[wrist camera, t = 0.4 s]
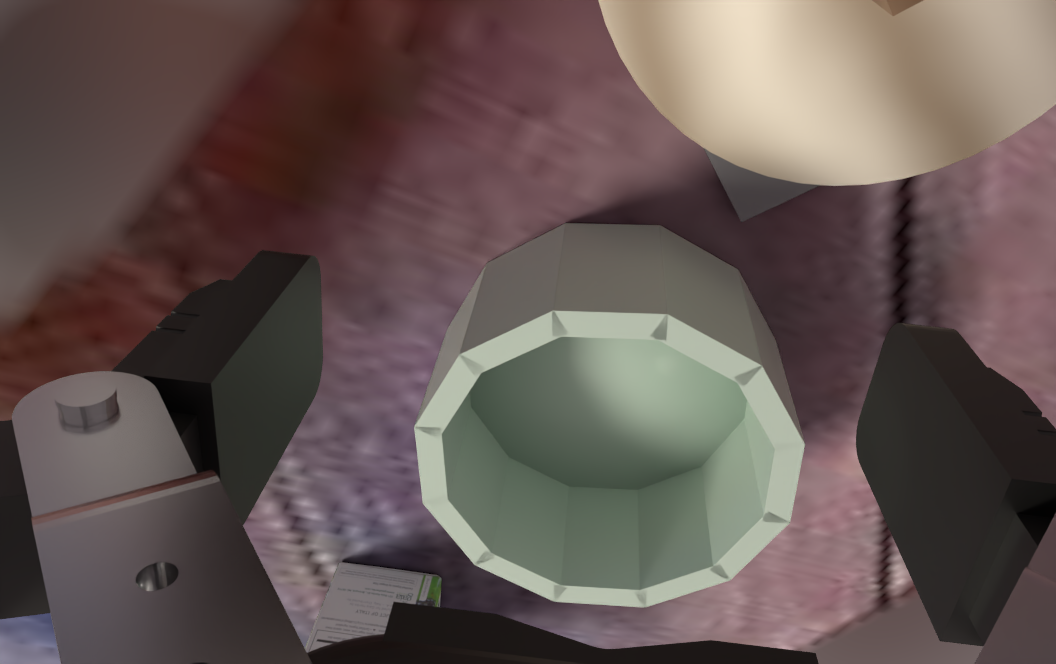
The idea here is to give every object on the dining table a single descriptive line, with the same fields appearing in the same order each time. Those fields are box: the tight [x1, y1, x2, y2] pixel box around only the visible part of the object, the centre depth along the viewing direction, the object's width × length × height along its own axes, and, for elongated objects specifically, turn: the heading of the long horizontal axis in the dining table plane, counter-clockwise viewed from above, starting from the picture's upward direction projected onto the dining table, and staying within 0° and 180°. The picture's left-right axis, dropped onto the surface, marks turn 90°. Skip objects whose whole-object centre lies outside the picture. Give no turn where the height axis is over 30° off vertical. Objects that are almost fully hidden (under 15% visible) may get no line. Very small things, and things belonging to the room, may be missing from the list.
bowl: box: [414, 223, 805, 608], centre depth 35 cm, size 14×14×7 cm
